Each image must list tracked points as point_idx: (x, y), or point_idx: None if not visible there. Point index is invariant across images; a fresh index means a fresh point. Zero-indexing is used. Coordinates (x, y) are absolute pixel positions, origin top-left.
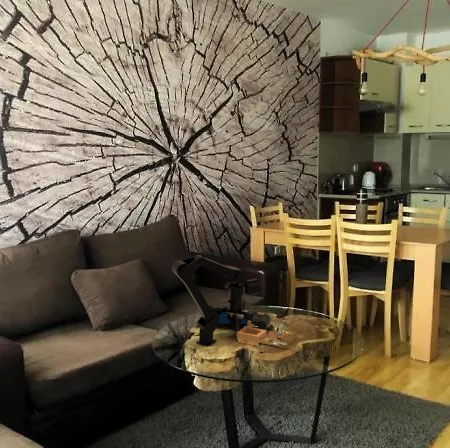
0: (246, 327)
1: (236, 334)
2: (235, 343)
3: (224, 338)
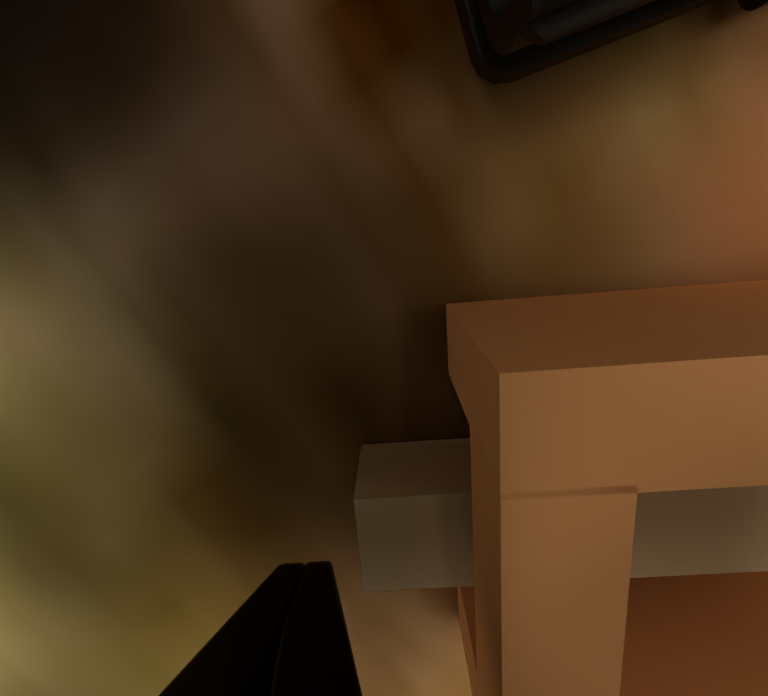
0: (580, 462)
1: (366, 588)
2: (466, 667)
3: (193, 605)
